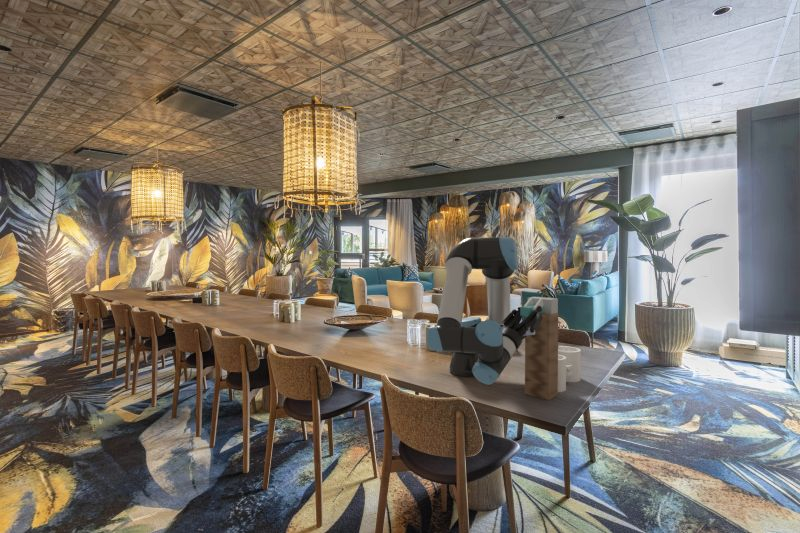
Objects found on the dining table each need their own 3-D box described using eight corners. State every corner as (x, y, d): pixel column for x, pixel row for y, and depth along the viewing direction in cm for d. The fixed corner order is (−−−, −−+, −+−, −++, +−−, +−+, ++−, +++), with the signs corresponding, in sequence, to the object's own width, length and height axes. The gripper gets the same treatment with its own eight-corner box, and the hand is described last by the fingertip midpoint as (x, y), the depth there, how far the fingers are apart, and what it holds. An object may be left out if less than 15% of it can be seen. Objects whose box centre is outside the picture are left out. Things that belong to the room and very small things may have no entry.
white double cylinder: (563, 394, 144) (563, 361, 143) (536, 388, 150) (536, 357, 150) (583, 377, 163) (584, 348, 162) (559, 373, 169) (559, 344, 169)
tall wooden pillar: (524, 393, 145) (525, 312, 144) (534, 389, 150) (534, 309, 148) (548, 400, 138) (549, 314, 137) (557, 395, 143) (558, 312, 142)
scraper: (512, 314, 137) (512, 300, 137) (534, 309, 148) (534, 296, 148) (536, 317, 131) (536, 302, 131) (558, 312, 142) (558, 298, 142)
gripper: (487, 348, 134) (518, 307, 147) (532, 357, 122) (561, 312, 136) (481, 331, 131) (513, 291, 144) (526, 338, 119) (556, 294, 133)
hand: (536, 301), depth 140 cm, fingers closed on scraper, 3 cm apart
